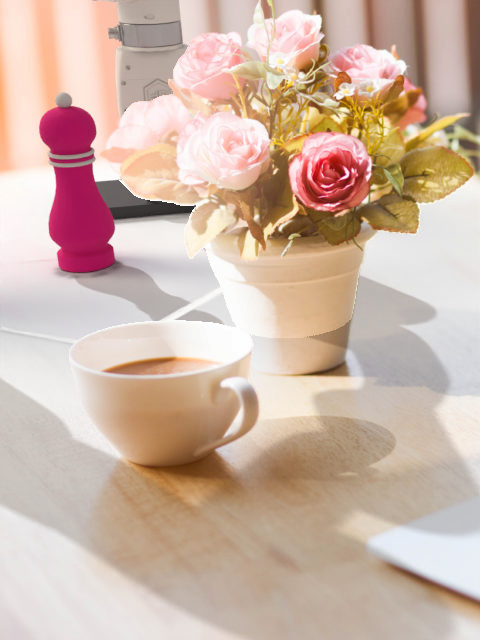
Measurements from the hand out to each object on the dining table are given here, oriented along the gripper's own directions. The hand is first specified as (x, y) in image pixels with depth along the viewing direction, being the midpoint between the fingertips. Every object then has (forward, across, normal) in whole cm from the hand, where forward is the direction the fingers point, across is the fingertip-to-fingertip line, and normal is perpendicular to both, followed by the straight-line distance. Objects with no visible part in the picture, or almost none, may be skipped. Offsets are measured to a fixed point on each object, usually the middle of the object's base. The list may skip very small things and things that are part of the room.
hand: (166, 176), depth 156 cm
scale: (+5, -5, +5) cm, 8 cm away
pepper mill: (+5, -11, -19) cm, 23 cm away
